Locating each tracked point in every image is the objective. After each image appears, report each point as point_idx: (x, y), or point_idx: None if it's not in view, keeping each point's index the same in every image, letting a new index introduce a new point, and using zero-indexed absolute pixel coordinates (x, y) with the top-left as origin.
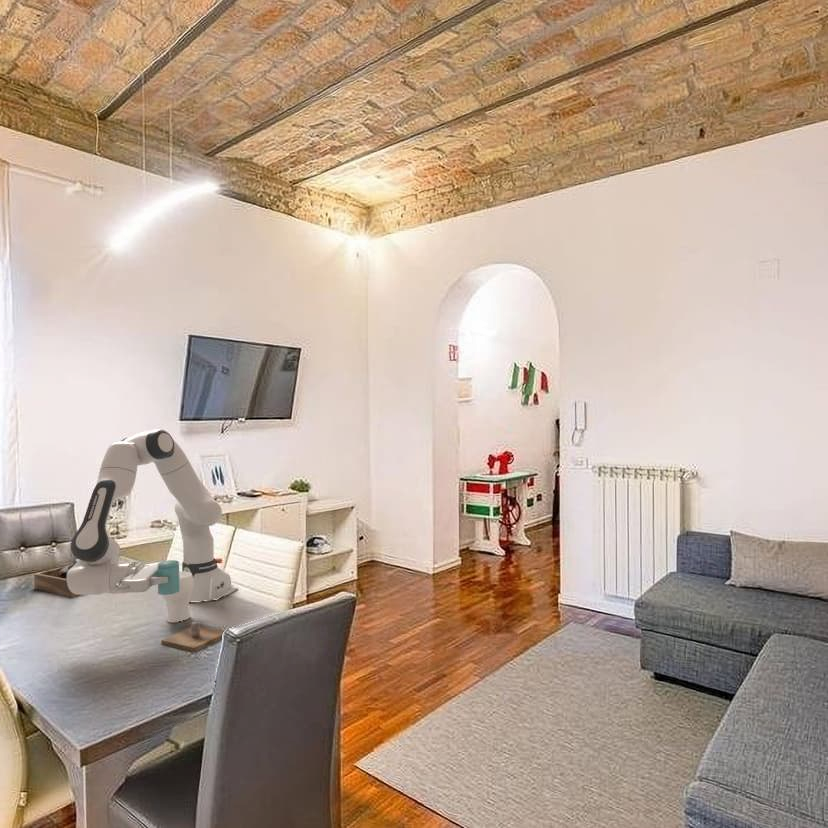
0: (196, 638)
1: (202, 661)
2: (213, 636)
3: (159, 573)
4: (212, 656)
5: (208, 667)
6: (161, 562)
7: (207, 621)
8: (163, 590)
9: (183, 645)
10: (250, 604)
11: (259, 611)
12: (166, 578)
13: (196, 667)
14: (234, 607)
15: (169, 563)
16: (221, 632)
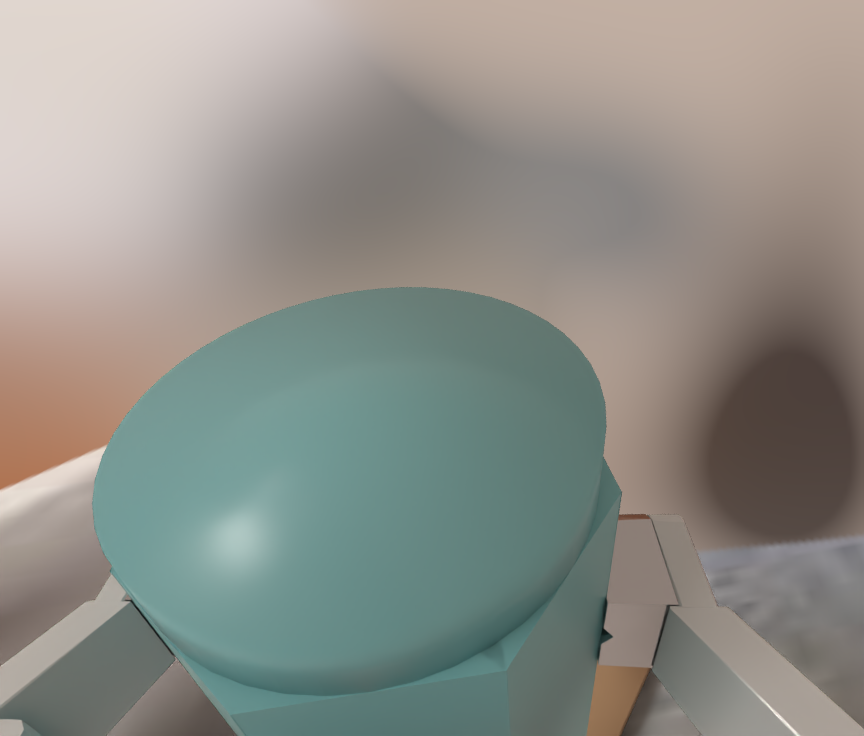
0: None
1: (773, 585)
2: None
3: (546, 677)
4: (702, 552)
5: (834, 546)
6: (210, 558)
7: (180, 670)
8: (582, 734)
9: (624, 722)
10: (68, 502)
11: None
12: (680, 536)
13: (856, 600)
14: (50, 562)
15: (428, 367)
16: None
